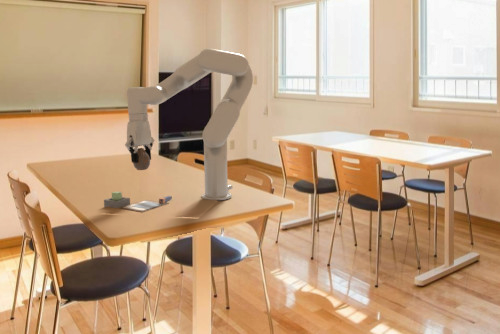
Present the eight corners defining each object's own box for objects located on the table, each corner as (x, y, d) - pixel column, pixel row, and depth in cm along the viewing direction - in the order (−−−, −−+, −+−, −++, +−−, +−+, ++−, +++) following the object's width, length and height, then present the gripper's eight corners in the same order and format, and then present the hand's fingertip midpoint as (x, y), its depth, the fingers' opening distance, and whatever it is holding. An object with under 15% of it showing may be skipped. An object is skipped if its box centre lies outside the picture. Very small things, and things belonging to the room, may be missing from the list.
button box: (117, 203, 202) (117, 196, 201) (130, 205, 198) (129, 198, 198) (104, 207, 196) (103, 199, 195) (117, 209, 192) (116, 201, 192)
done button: (117, 200, 199) (116, 191, 199) (124, 201, 197) (123, 192, 197) (110, 202, 196) (109, 193, 196) (117, 203, 194) (116, 194, 194)
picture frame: (146, 201, 205) (145, 199, 204) (168, 204, 198) (168, 202, 198) (119, 209, 192) (119, 207, 192) (142, 213, 186) (142, 211, 186)
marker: (168, 199, 207) (168, 195, 207) (171, 199, 207) (172, 195, 207) (158, 203, 197) (159, 198, 197) (163, 203, 197) (163, 199, 197)
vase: (134, 171, 203) (132, 150, 201) (133, 168, 209) (131, 148, 208) (151, 170, 204) (149, 148, 203) (149, 167, 211) (148, 146, 209)
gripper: (146, 116, 212) (149, 157, 215) (115, 119, 198) (119, 164, 201) (159, 116, 208) (162, 158, 212) (129, 119, 194) (133, 165, 197)
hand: (141, 160), depth 206 cm, fingers closed on vase, 6 cm apart
